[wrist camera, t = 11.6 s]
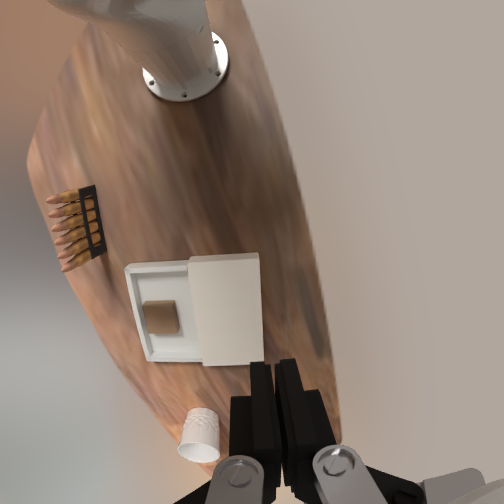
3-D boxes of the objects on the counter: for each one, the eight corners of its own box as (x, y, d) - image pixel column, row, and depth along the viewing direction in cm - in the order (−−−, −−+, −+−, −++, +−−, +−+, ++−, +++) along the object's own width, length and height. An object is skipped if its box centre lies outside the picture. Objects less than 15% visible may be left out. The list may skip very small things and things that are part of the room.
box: (129, 263, 42) (124, 268, 39) (189, 259, 42) (186, 265, 39) (150, 353, 46) (146, 361, 44) (203, 353, 47) (201, 362, 44)
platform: (190, 256, 42) (186, 262, 39) (258, 252, 42) (259, 258, 39) (205, 355, 47) (203, 366, 44) (262, 352, 47) (264, 363, 44)
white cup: (199, 399, 50) (194, 437, 40) (229, 417, 52) (228, 454, 42) (177, 415, 51) (169, 450, 42) (206, 431, 53) (202, 466, 43)
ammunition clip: (107, 250, 41) (68, 277, 29) (98, 252, 41) (58, 278, 29) (95, 184, 38) (50, 192, 26) (85, 187, 38) (40, 195, 26)
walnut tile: (172, 305, 41) (174, 300, 43) (141, 306, 41) (145, 300, 43) (177, 333, 42) (179, 327, 44) (148, 333, 42) (151, 327, 44)
